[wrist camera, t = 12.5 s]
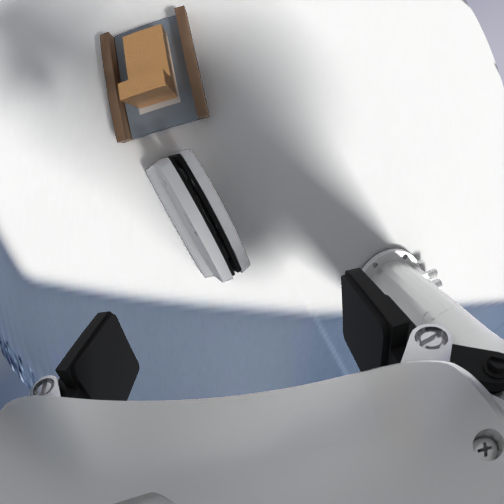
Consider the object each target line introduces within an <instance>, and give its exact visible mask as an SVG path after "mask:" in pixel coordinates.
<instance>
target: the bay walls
mask: <svg viewBox="0 0 504 504" xmlns="http://www.w3.org/2000/svg"><path fill="white" fill-rule="evenodd" d="M175 13H176V18H177V23H178V28H179V33H180V38H181V43H182V47H183V52H184V57H185V62H186V66H187V71H188V76H189V80H190V85H191V89H192V94H193V98H194V103H195V107H196V112H197V116H198V118H199V119H202V118H206V117H209V113H208V108H207V104H206V99H205V95H204V90H203V86H202V82H201V77H200V73H199V68H198V64H197V59H196V54H195V50H194V45H193V41H192V36H191V32H190V27H189V22H188V18H187V13H186V10H185V7H184V6H181V7H177V8H175ZM100 42H101V51H102V59H103V67H104V74H105V81H106V87H107V93H108V99H109V105H110V110H111V115H112V120H113V125H114V130H115V135H116V139H117V142H120V143H125V142H127V141H130V140H133V139H132V135H131V130H130V126H129V121H128V116H127V111H126V106H125V102H123V101H120V96H119V90H118V84H119V83H121V79H120V72H119V66H118V59H117V52H116V44H115V38H114V37H113V36H112V35H111V34H110V33H109V32H107V33H104V34H102V35H100Z"/></svg>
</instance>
